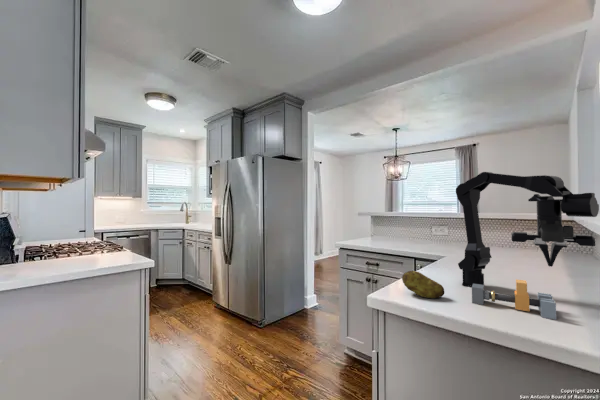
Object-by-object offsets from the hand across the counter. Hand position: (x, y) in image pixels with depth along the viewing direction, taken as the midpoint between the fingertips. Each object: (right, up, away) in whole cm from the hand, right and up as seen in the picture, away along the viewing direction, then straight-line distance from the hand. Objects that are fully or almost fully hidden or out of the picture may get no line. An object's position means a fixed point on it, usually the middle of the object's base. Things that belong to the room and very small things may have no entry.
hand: (550, 266), depth 85 cm
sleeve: (-11, -12, -3) cm, 17 cm away
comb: (-7, -12, -6) cm, 15 cm away
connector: (-20, -12, +4) cm, 24 cm away
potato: (-35, -13, +10) cm, 39 cm away
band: (-17, -12, +1) cm, 21 cm away
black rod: (-14, -11, -1) cm, 17 cm away
